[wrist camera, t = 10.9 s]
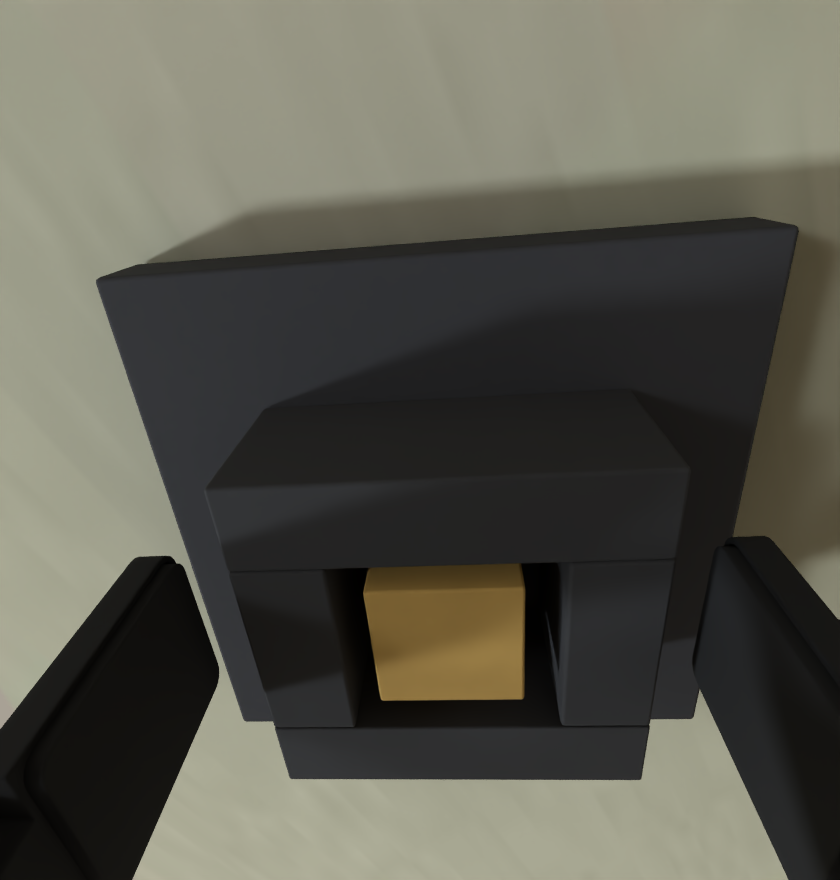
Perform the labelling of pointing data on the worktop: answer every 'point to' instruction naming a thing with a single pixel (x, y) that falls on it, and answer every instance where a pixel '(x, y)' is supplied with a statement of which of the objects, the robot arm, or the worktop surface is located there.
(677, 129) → the worktop surface
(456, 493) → the black hole pad
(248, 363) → the charcoal stud pad
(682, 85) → the worktop surface
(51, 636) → the worktop surface
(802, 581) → the robot arm
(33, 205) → the worktop surface
